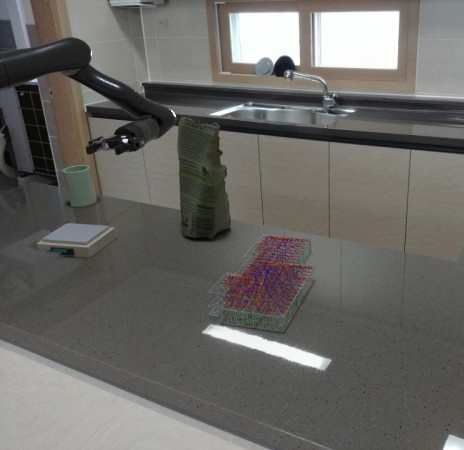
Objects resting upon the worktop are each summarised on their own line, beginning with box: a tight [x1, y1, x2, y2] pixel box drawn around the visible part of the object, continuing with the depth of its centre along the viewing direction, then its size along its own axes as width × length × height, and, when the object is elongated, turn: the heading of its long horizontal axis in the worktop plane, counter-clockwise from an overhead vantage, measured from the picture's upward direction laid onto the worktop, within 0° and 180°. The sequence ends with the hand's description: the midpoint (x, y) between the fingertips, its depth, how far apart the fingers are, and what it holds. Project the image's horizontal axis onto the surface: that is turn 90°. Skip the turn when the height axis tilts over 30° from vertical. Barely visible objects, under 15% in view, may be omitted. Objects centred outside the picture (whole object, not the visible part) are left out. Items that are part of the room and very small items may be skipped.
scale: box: [36, 222, 118, 259], centre depth 113 cm, size 12×10×3 cm
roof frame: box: [207, 233, 316, 333], centre depth 94 cm, size 30×15×5 cm, turn 162°
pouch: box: [176, 116, 232, 240], centre depth 112 cm, size 11×12×25 cm
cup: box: [62, 164, 98, 208], centre depth 133 cm, size 6×6×10 cm
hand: (101, 151), depth 141 cm, fingers open, 8 cm apart
